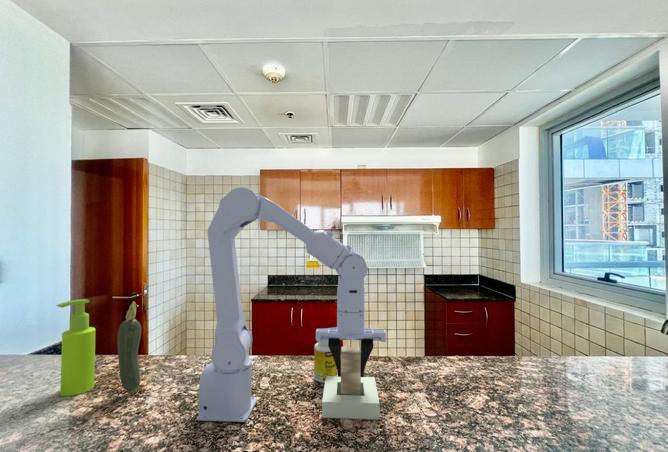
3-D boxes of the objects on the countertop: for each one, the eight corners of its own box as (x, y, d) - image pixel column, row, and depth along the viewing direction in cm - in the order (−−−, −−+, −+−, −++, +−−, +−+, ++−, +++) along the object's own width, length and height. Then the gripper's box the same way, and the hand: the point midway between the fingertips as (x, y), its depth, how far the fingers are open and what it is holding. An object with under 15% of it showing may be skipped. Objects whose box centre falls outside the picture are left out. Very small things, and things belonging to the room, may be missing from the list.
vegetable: (128, 400, 66) (130, 304, 66) (110, 398, 67) (112, 303, 67) (144, 390, 70) (146, 300, 71) (128, 388, 71) (130, 299, 72)
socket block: (321, 417, 60) (322, 401, 60) (325, 389, 71) (325, 375, 71) (379, 419, 60) (379, 403, 60) (374, 390, 71) (374, 377, 71)
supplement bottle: (324, 386, 72) (324, 341, 73) (309, 378, 76) (309, 336, 77) (341, 378, 76) (341, 336, 77) (326, 371, 80) (326, 331, 81)
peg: (340, 393, 64) (340, 353, 64) (341, 384, 68) (341, 346, 68) (360, 394, 63) (360, 354, 64) (359, 384, 67) (359, 347, 68)
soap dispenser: (49, 394, 68) (51, 301, 69) (86, 381, 74) (88, 296, 75) (62, 400, 66) (64, 304, 66) (99, 386, 72) (101, 298, 72)
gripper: (314, 313, 62) (314, 383, 62) (387, 315, 62) (387, 384, 61) (317, 305, 69) (317, 367, 69) (383, 306, 69) (383, 369, 68)
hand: (350, 374), depth 66 cm, fingers closed on peg, 4 cm apart
